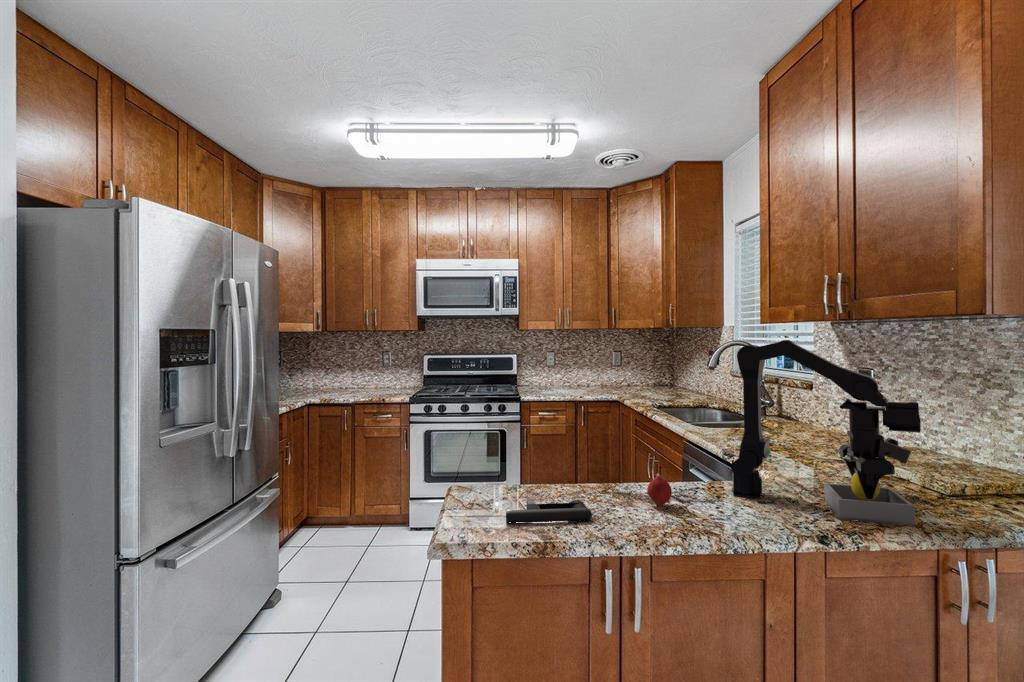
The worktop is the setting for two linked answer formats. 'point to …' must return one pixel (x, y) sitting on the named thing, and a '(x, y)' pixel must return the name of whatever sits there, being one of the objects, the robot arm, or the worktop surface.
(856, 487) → the lemon
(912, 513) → the box
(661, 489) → the onion
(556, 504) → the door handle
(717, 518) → the worktop surface
